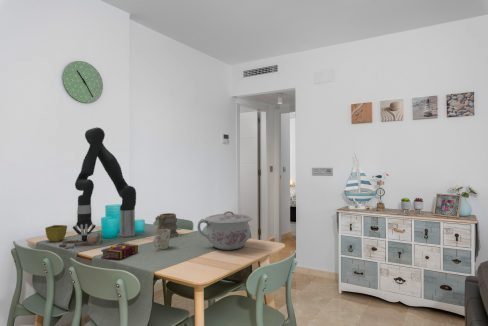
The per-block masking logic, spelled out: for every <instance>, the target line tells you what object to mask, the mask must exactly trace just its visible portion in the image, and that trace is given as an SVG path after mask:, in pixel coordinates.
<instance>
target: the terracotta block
mask: <svg viewBox="0 0 488 326" xmlns="http://www.w3.org/2000/svg"><path fill="white" fill-rule="evenodd" d="M87 239H88V242H87V243H89V242H97V235H89V236H87Z"/></svg>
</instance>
